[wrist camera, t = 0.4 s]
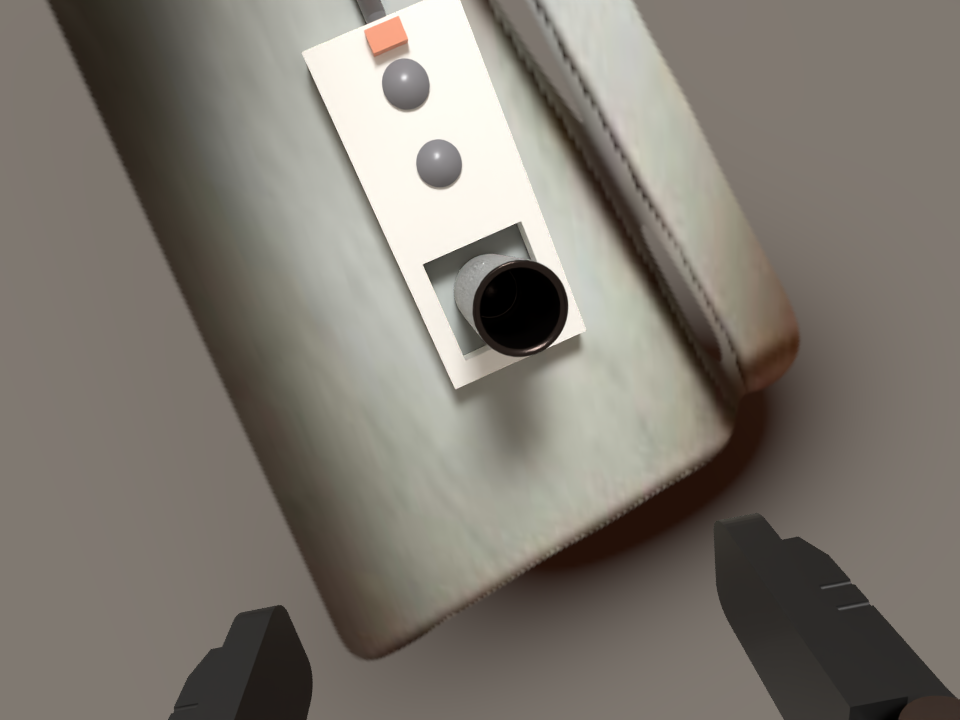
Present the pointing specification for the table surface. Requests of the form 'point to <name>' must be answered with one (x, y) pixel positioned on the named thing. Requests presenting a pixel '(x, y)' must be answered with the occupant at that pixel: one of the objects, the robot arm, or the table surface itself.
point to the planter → (512, 303)
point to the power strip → (432, 153)
